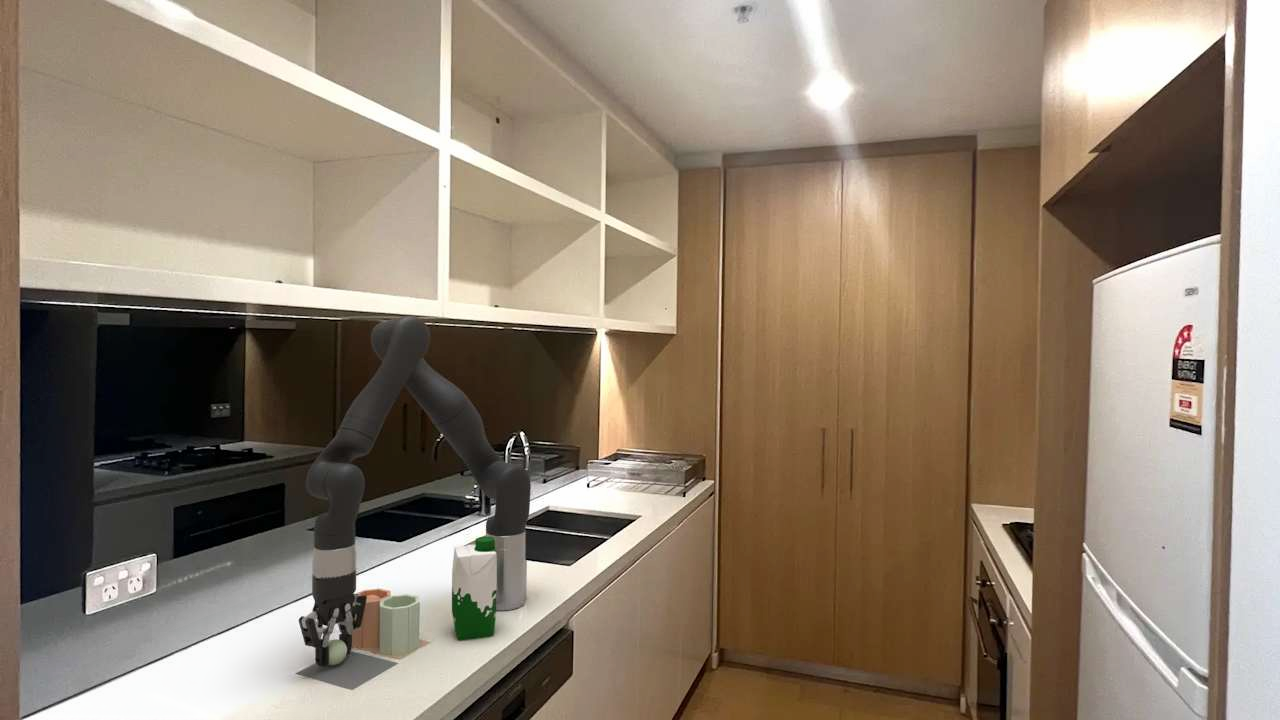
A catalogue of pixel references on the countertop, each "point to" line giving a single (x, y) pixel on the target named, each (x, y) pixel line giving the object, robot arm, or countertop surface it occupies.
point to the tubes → (389, 625)
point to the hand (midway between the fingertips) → (333, 659)
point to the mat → (349, 670)
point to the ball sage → (336, 651)
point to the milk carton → (474, 589)
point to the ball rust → (372, 598)
